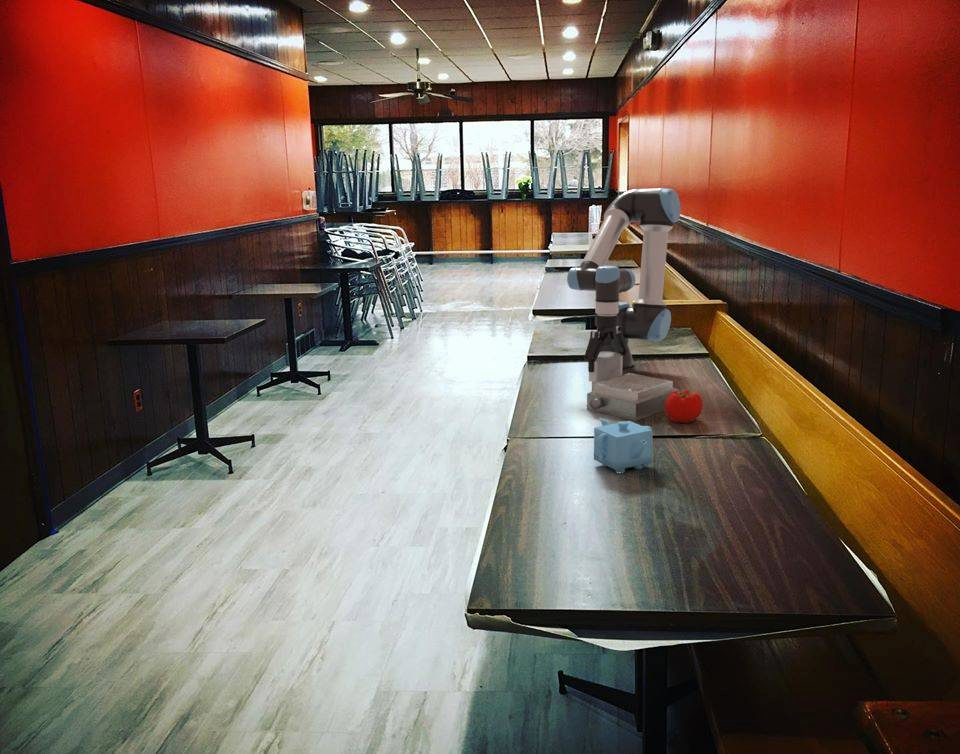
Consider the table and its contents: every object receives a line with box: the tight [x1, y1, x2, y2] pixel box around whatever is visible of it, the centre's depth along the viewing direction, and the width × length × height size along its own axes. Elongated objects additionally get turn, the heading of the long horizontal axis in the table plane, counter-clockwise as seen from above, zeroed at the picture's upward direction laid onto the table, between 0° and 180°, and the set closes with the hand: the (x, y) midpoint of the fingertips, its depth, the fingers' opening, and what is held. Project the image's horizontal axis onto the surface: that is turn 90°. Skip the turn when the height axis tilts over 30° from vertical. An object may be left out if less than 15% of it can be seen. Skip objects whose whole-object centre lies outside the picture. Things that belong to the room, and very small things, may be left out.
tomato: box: [664, 389, 704, 424], centre depth 229 cm, size 11×11×9 cm
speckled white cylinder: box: [591, 351, 621, 392], centre depth 263 cm, size 10×10×12 cm
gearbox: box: [586, 372, 679, 421], centre depth 243 cm, size 25×18×8 cm
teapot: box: [593, 417, 653, 474], centre depth 195 cm, size 16×18×11 cm
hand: (605, 378), depth 263 cm, fingers open, 13 cm apart
